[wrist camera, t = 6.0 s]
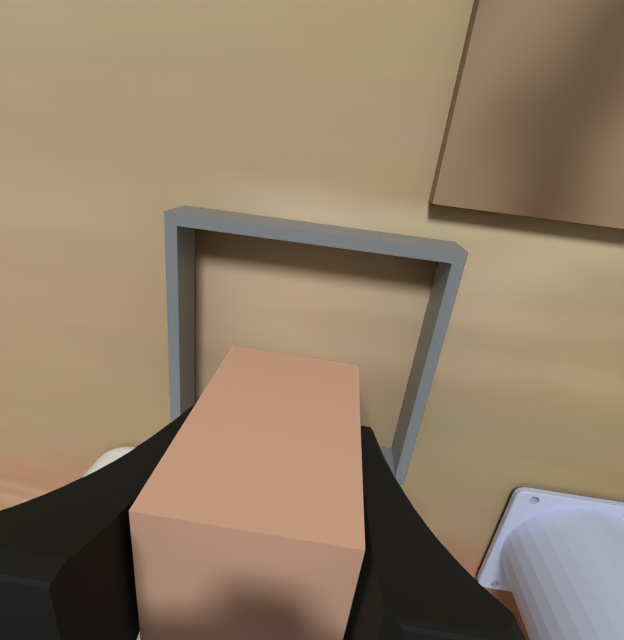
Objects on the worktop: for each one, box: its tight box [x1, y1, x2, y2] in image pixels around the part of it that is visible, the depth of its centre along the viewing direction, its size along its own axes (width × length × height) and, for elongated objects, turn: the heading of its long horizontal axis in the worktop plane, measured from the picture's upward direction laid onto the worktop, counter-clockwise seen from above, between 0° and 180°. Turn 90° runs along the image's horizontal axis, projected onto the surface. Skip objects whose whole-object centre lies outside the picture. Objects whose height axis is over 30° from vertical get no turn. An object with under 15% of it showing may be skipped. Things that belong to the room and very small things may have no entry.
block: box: [129, 346, 365, 640], centre depth 11 cm, size 4×4×7 cm
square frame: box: [164, 206, 468, 485], centre depth 19 cm, size 12×12×2 cm
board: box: [429, 0, 624, 229], centre depth 14 cm, size 10×10×1 cm
